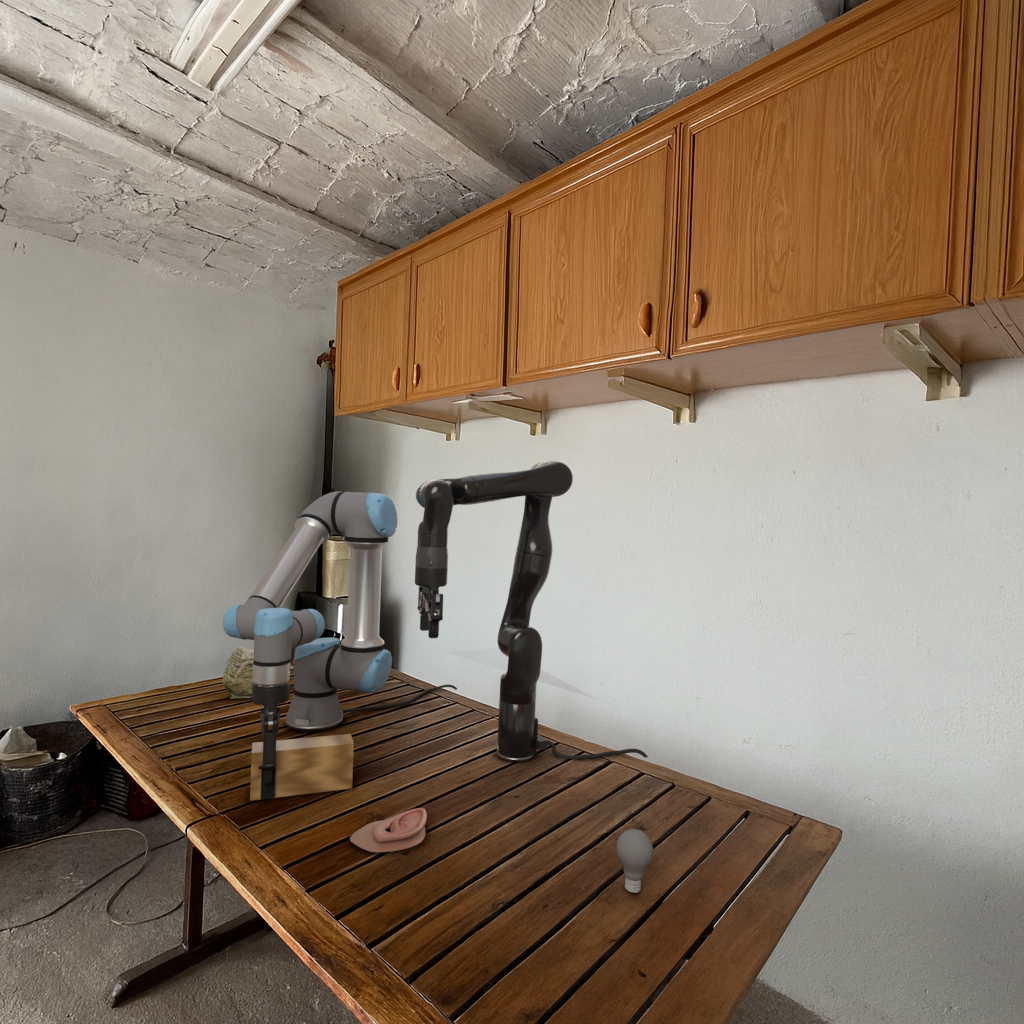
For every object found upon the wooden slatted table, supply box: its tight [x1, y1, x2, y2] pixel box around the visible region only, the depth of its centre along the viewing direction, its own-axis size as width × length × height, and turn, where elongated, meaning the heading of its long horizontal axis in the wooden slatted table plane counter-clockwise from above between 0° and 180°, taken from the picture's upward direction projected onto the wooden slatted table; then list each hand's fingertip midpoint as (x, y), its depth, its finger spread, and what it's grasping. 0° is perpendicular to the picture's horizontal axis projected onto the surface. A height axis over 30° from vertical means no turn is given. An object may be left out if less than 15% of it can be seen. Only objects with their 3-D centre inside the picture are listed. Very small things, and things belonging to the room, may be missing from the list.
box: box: [249, 733, 355, 802], centre depth 137 cm, size 21×6×10 cm, turn 111°
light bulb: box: [615, 828, 654, 894], centre depth 106 cm, size 6×6×10 cm
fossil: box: [222, 646, 254, 699], centre depth 198 cm, size 9×18×15 cm, turn 132°
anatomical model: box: [349, 807, 428, 853], centre depth 119 cm, size 13×4×12 cm
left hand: (267, 790), depth 135 cm, fingers closed on box, 6 cm apart
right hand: (428, 634), depth 148 cm, fingers open, 8 cm apart
